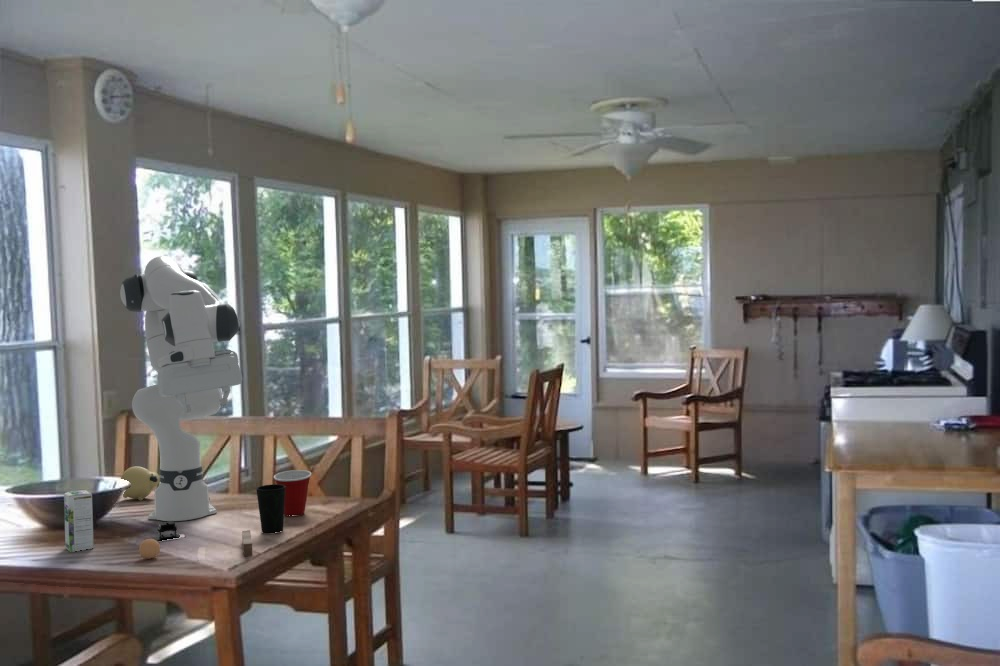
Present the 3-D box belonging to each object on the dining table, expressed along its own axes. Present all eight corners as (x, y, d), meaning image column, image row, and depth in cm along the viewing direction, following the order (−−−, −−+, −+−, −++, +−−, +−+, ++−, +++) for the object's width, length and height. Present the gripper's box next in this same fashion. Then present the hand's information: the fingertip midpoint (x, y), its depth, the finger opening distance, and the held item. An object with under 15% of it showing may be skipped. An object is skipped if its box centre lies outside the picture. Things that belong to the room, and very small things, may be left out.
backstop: (242, 542, 242) (242, 530, 241) (250, 541, 242) (250, 530, 242) (243, 556, 228) (243, 544, 228) (252, 555, 229) (251, 543, 229)
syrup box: (64, 548, 240) (62, 492, 240) (89, 544, 244) (86, 489, 243) (70, 553, 236) (67, 495, 235) (95, 548, 239) (92, 492, 239)
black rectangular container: (144, 547, 242) (144, 529, 242) (140, 541, 249) (139, 523, 248) (194, 539, 248) (193, 522, 248) (189, 533, 255) (188, 516, 254)
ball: (140, 556, 230) (139, 537, 230) (160, 554, 232) (160, 535, 231) (138, 562, 226) (137, 542, 225) (159, 560, 227) (158, 540, 227)
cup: (279, 535, 248) (278, 490, 247) (252, 534, 250) (251, 489, 249) (291, 528, 255) (290, 484, 255) (265, 527, 257) (264, 484, 257)
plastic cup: (269, 519, 267) (267, 477, 267) (282, 510, 278) (280, 470, 277) (306, 519, 266) (304, 477, 265) (317, 510, 276) (316, 469, 276)
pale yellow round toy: (158, 501, 295) (156, 467, 295) (117, 504, 293) (116, 470, 292) (162, 495, 305) (161, 462, 304) (123, 497, 302) (121, 464, 302)
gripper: (231, 350, 240) (241, 403, 239) (151, 361, 227) (161, 417, 227) (240, 346, 235) (250, 400, 234) (159, 357, 222) (169, 414, 222)
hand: (206, 409), depth 230 cm, fingers open, 8 cm apart
